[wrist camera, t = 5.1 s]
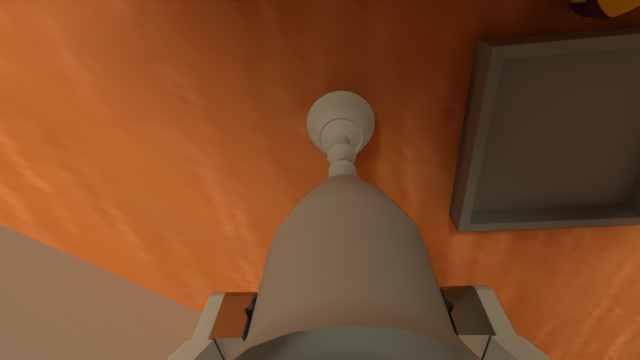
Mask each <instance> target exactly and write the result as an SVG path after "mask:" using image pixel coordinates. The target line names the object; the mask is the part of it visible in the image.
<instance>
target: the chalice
mask: <svg viewBox="0 0 640 360" xmlns="http://www.w3.org/2000/svg"><path fill="white" fill-rule="evenodd" d="M306 128H307V131H308V135H309V138H310V139H311V141H312V142H313V144H314V145H315V146H316V147H317V148H318V149H320V151H322V152H323V153H324V154H325V155H327V159H328V162H329V164H330V165H331V166H330V168H329V170H328V177H329V178H328V179H327V180H325V181H324V182H322V183H321V184H320V185H318V186H317V187H316V188H314V189H313V190H312V191H310V192H309V193H308V194H307V195H306V196H305V197H304V198H303V199H302V200H301V201H300V202H299V203H298V204H297V205H296V206H295V207H294V209H293V210H292V211H291V212H290V214H289V215H288V216H287V217H286V219H285V220H284V221H283V222H282V224H281V225H280V226H279V227H278V229H277V231H276V233H275V235H274V238H273V240H272V242H271V244H270V247H269V251H268V255H267V259H266V263H265V267H264V271H263V275H262V279H261V283H260V287H259V291H258V295H257V299H256V303H255V307H254V312H253V316H252V320H251V324H250V328H249V332H248V336H247V339H246V340H245V341H244V342H243V344H242V345H241V346H240V347H239V349H238V350H237V351H236V352H235V354H234V355H233V356H232V357H231V358H230V360H481V359H480V358H479V357H478V356H477V355H476V354H475V353H474V352H473V351H472V350H471V349H470V348H469V347H468V346H467V345H466V344H465V343H464V342H463V341H462V340H461V339H460V338H459V337H458V336H457V335H456V334H455V332H454V329H453V326H452V323H451V320H450V317H449V314H448V311H447V308H446V305H445V303H444V300H443V297H442V294H441V291H440V288H439V285H438V282H437V279H436V276H435V273H434V270H433V267H432V264H431V261H430V258H429V255H428V252H427V249H426V246H425V243H424V241H423V238H422V236H421V234H420V232H419V230H418V228H417V226H416V224H415V223H414V222H413V221H412V220H411V219H410V218H409V217H408V216H407V215H406V214H405V213H404V212H403V211H402V210H401V209H400V208H399V207H398V206H397V205H396V204H395V203H394V202H393V201H392V200H391V199H390V198H389V197H388V196H387V195H386V194H384V193H383V192H382V191H381V190H380V189H378V188H376V187H375V186H373V185H371V184H369V183H368V182H366V181H364V180H362V179H361V178H358V177H356V173H357V172H356V168H355V166H354V165H353V164H354V162H355V160H356V154H357V153H358V152H360V151H361V150H362V149H363V147H364V146H365V145H366V144H367V143H368V142H369V140H370V139H371V137H372V135H373V133H374V128H375V117H374V112H373V110H372V108H371V106H370V104H369V103H368V102H367V101H366V100H365V99H364V98H362V97H361V96H359V95H357V94H355V93H353V92H349V91H335V92H330V93H327V94H326V95H324V96H322V97H320V98H319V99H318V100H317V101H316V102H315V103H314V104H313V105H312V106H311V108H310V111H309V113H308V115H307V124H306Z"/></svg>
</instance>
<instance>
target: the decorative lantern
mask: <svg viewBox="0 0 640 360" xmlns="http://www.w3.org/2000/svg"><path fill="white" fill-rule="evenodd" d="M638 6H640V0H570V8H571V9H572V10H573V12H574V13H576V14H578V15H581V16H583V17H589V18H595V19H607V18H613V17H616V16H618V15H620V14H623V13H625V12H628V11H630V10H632V9H634V8H636V7H638Z"/></svg>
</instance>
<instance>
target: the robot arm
mask: <svg viewBox="0 0 640 360" xmlns="http://www.w3.org/2000/svg"><path fill="white" fill-rule="evenodd" d="M439 288H440V291H441V294H442V297H443V300H444V303H445V305H446V308H447V311H448V314H449V317H450V320H451V323H452V326H453V329H454V332H455V334H456V335H457V336H458V337H459V338H460V339H461V340H462V341H463V342H464V343H465V344H466V345H467V346H468V347H469V348H470V349H471V350H472V351H473V352H474V353H475V354H476V355H477V356H478V357H479V358H480V359H481V360H552V359H551V358H549V357H548V356H547V355H546V354H544V353H543V352H542V351H541V350H539V349H538V348H537V347H536V346H534V345H533V344H532V343H531V342H529V341H528V340H527V339H526V338H524V337H523V336H517V335H516V333H515V331H514V329H513V327H512V325H511V323H510V321H509V319H508V317H507V315H506V314H505V312H504V310H503V308H502V306H501V304H500V302H499V300H498V298H497V296H496V294H495V292H494V290H493V288H492V287H490V286H488V285H485V286H448V287H439ZM257 295H258V293H257V292H214V293H212V294H211V295H210V296H209V298H208V300H207V303H206V305H205V308H204V310H203V313H202V315H201V318H200V320H199V323H198V325H197V328H196V330H195V333H194V335H193V338H192V340H187V341H186V342H185V343H183V344H182V345H181V346H180V347H179V348H178V349H177V350H176V351H175V352H174V353H173V354H172V355H171V356H170V357H169V358H168V359H167V360H230V358H231V357H232V356H233V355H234V354H235V352H236V351H237V350H238V349H239V347H240V346H241V345H242V344H243V342H244V341H245V340H246V339H247V336H248V332H249V328H250V324H251V320H252V316H253V312H254V307H255V303H256V299H257Z"/></svg>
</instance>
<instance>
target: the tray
mask: <svg viewBox="0 0 640 360" xmlns="http://www.w3.org/2000/svg"><path fill="white" fill-rule="evenodd" d="M449 215H450V217H451V219H452V221H453V223H454V225H455V227H456V229H457V231H458V232H472V231H497V230H522V229H548V228H573V227H598V226H623V225H640V26H629V27H618V28H607V29H596V30H585V31H575V32H564V33H553V34H542V35H531V36H520V37H509V38H498V39H487V40H477V44H476V50H475V56H474V63H473V69H472V75H471V81H470V88H469V94H468V100H467V106H466V112H465V119H464V125H463V131H462V137H461V144H460V150H459V156H458V162H457V168H456V175H455V181H454V187H453V193H452V200H451V206H450V212H449Z"/></svg>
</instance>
